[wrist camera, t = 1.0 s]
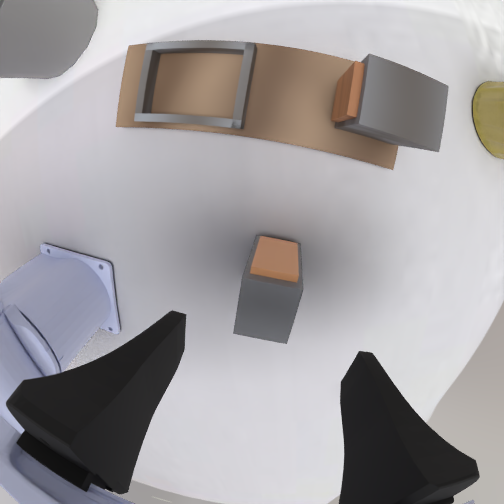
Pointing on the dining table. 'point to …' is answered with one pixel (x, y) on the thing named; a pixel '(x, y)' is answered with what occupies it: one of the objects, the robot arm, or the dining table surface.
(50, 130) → the dining table surface
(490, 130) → the vase
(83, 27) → the cup
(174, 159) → the dining table surface
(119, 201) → the dining table surface
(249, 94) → the wooden base with frame
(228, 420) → the dining table surface
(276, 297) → the block
